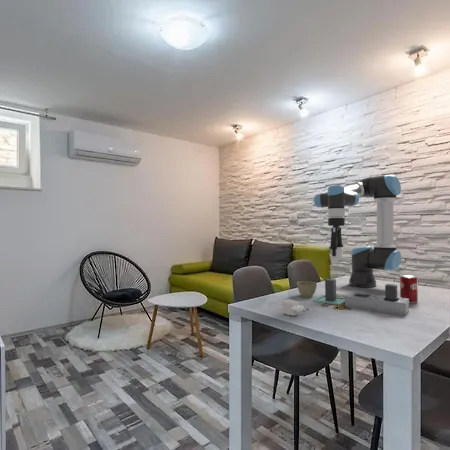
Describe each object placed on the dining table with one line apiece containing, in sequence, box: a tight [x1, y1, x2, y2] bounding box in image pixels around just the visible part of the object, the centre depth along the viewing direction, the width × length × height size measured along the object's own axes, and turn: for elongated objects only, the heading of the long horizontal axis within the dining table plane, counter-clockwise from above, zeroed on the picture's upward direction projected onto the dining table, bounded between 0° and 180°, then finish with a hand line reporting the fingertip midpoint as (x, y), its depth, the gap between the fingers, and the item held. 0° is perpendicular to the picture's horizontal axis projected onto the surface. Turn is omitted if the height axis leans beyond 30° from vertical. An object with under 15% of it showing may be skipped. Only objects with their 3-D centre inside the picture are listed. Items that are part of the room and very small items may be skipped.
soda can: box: [399, 274, 419, 304], centre depth 151 cm, size 7×7×12 cm
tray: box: [312, 294, 345, 306], centre depth 155 cm, size 13×13×1 cm
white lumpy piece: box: [281, 299, 310, 317], centre depth 131 cm, size 11×5×6 cm, turn 43°
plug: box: [324, 278, 337, 301], centre depth 155 cm, size 4×4×10 cm
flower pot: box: [296, 281, 318, 298], centre depth 164 cm, size 10×10×7 cm
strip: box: [344, 283, 410, 317], centre depth 144 cm, size 20×24×11 cm
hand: (336, 261), depth 153 cm, fingers open, 13 cm apart
